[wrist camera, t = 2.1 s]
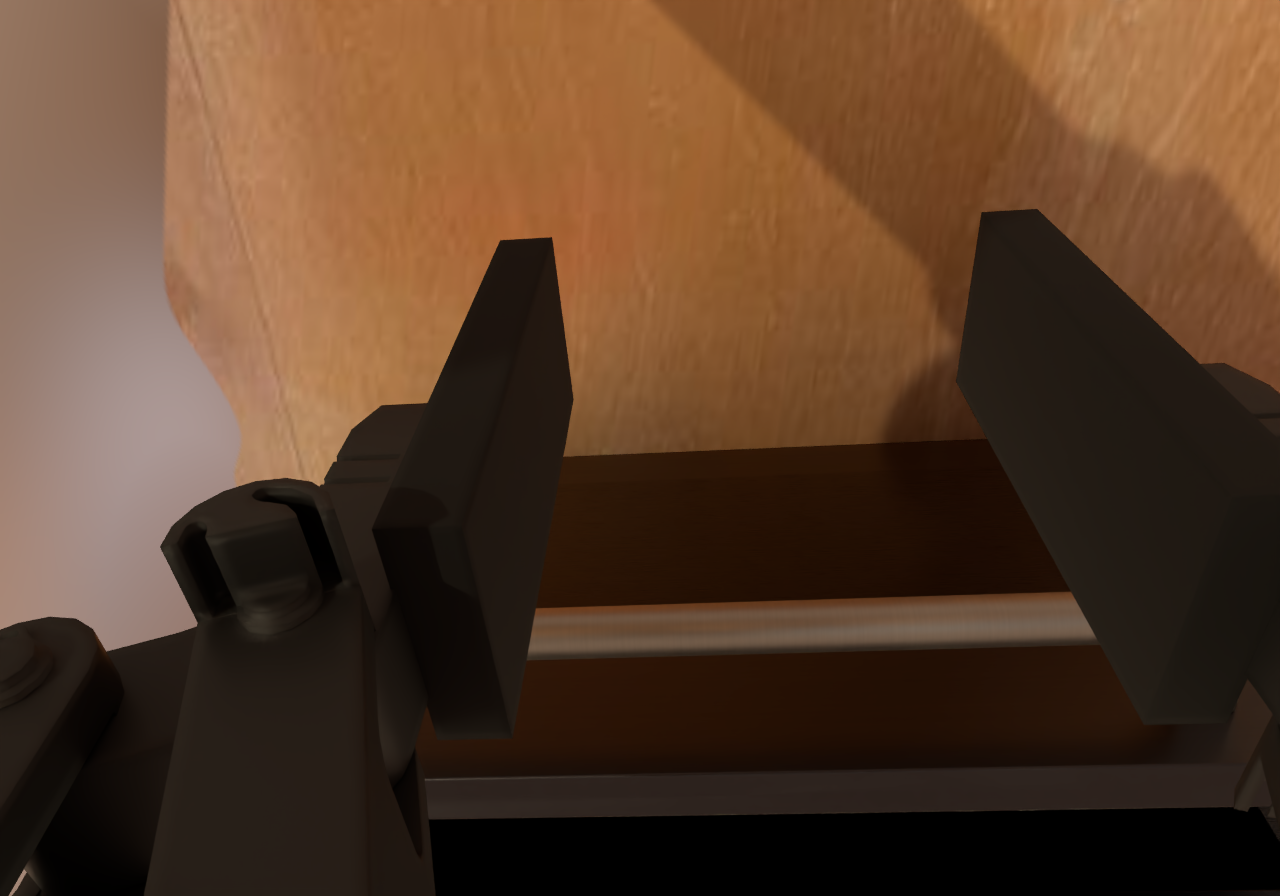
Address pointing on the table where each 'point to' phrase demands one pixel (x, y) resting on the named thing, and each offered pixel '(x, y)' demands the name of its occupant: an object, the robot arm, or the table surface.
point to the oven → (866, 854)
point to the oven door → (817, 653)
